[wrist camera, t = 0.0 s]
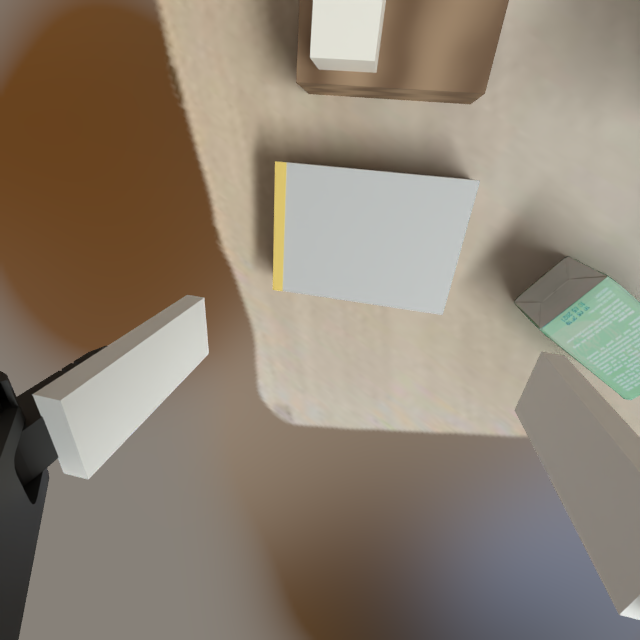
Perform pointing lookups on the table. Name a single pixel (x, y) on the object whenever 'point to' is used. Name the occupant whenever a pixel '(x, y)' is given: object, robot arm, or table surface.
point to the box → (589, 322)
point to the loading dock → (369, 234)
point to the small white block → (346, 34)
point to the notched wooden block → (416, 52)
